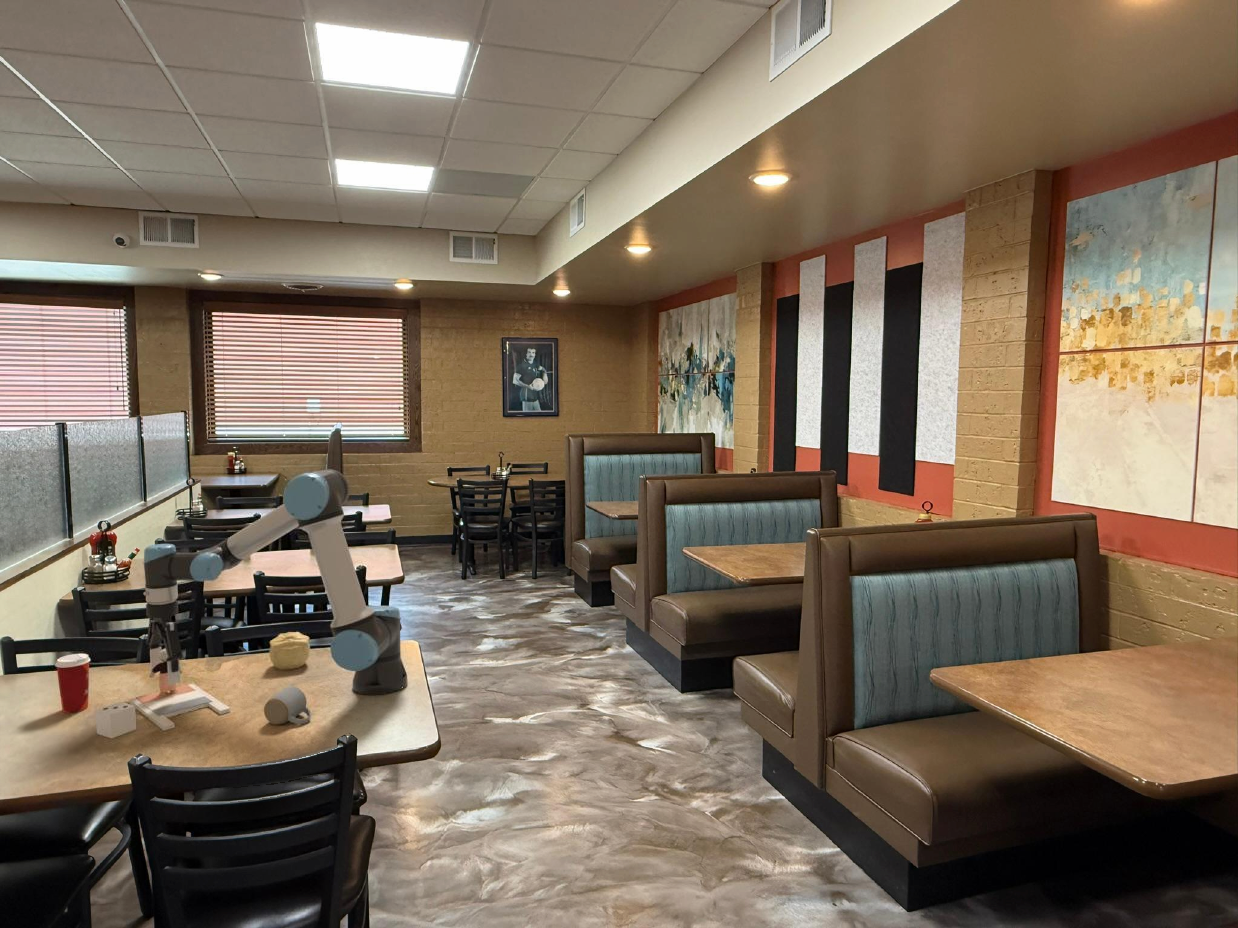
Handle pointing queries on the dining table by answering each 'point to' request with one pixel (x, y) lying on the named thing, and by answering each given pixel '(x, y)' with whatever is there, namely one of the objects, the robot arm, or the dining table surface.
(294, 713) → the ceramic mug
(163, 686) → the grandmother figurine
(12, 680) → the dining table surface
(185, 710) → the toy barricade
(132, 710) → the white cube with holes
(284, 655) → the pale yellow rounded lump
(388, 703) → the dining table surface
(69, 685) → the paper cup
